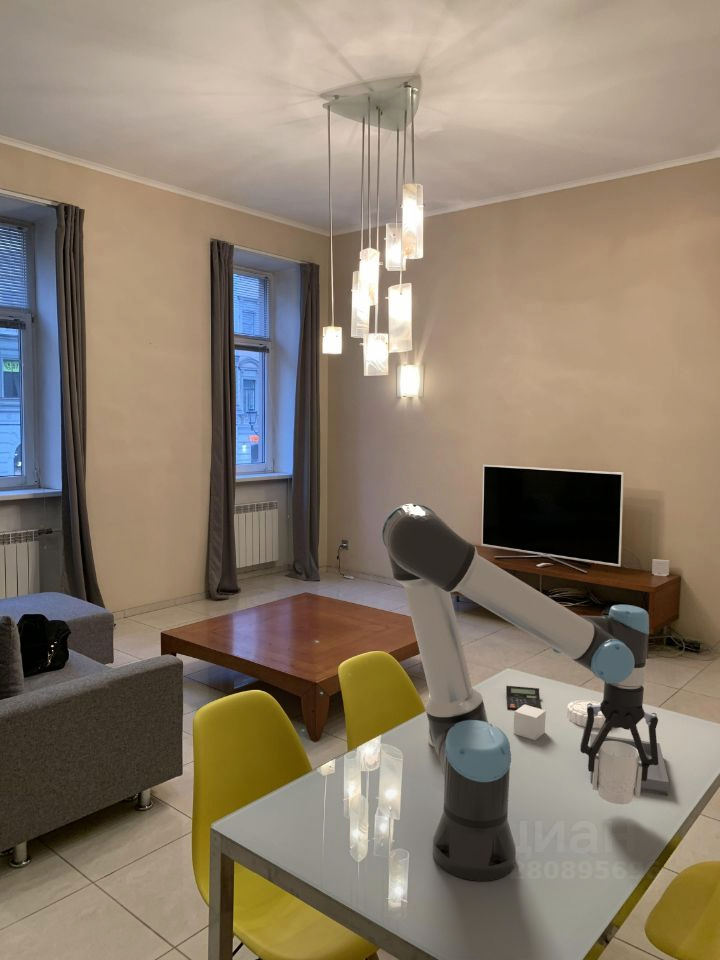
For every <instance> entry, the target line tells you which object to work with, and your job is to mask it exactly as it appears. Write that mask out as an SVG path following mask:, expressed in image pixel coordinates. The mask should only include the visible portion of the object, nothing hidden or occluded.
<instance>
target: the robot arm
mask: <svg viewBox="0 0 720 960" xmlns="http://www.w3.org/2000/svg"><path fill="white" fill-rule="evenodd" d="M382 526H383V527H382V531H381V537H382V538H381V539H382V542H383V545H384V546H385V548H386V550H387V555H388V559H389V563H390V566H391V567H390V568H391V570H392V571H391V572H392V575H393V579H394V581H395V582H397V583H398V584H400V585H402V586H403V587H404V593H405V597H406V601H407V604H408V608H409V613H410V618H411V621H412V626H413V629H414V634H415V639H416V641H417V647H418V650H419V655H420V659H421V663H422V668H423V671H424V675H425V680H426V684H427V688H428V692H429V693H428V694H430V699H429V698H428V701H427V702H426V704H425V712H426V716H427V720H428V723H429V734H430V737H431V741H432V743H433V745H434V746H433V747H434V750H435V752H436V754H437V757H438V759H439V763H440V765H441V768H442V771H443V774H444V775H443V777H444V790H443V791H444V792H443V793H444V794H443V811H442V815H441V818H440V820H439V823H438V825H437V827H436V830H435V832H434V836H433V839H432V856H433V858H434V861H435V862H436V864H437V865H438V866H439V867H440V868H441V869H443V870H444V871H445V872H447V873H449V874H451V875H452V876H456V877H458V878H461V879H465V880H469V881H478V882H488V881H494V880H498V879H501V878H503V876H504V877H505V875H506V876H507V875H509V874H510V873H511V872H512V871H513V870H512V869H514V868H515V866H516V858H517V857H516V854H517V851H516V850H517V849H516V845H515V840H514V837H513V835H512V829H511V826H510V824H509V820H508V810H509V791H510V789H509V788H510V774H511V773H510V770H511V768H510V766H511V763H512V753H511V743H510V741H509V738H508V736H507V734H506V733H505V732H504V731H503V730H502V729H501V728H499V727H498V726H493V724H492V723H489V721H488V717H487V712H486V707H485V704H484V700H483V695H482V693H481V692H480V691H478V690H476V689H474V688H473V686H472V681H471V677H470V673H469V668H468V663H467V659H466V655H465V652H464V646H463V642H462V638H461V634H460V629H459V625H458V621H457V617H456V613H455V608H454V603H453V600H452V596H451V593H455V592H458V593H460V594H461V595H463V596H464V597H466V598H468V599H469V600H471V601H473V603H476V604H478V605H479V606H481V607H483V608H485V609H486V610H488V611H490V612H491V613H493V614H495V615H497V617H500V618H502V619H503V620H505V621H507V622H508V623H510V624H512V625H513V626H515V627H517V628H519V629H520V630H522V631H524V633H527V634H528V635H531V636H532V637H534V638H536V639H537V640H539V641H541V642H542V643H544V644H546V645H547V646H548V647H550V649H551V650H552V651H553V652H554V653H557V654H563V655H564V656H566V657H567V658H569V659H571V660H572V661H574V662H576V663H577V664H578V665H580V666H581V667H583V668H585V669H587V670H589V672H592V673H593V675H594V676H595V677H596V678H598V679H601V680H602V681H603V682H604V685H603V698H602V701H601V704H600V705H592V704H591V703H589V704H587V714H588V716H587V720H586V725H585V727H584V729H583V733H582V738H581V742H580V747H579V748H580V749H579V751H580V752H581V754H586V755H587V756H588V759H587V760H588V763H587V770H588V772H590V773H591V772H593V783H591V785H592V790H593V791H597V789H598V788H597V787H598V784H597V777H598V764H599V758H598V754H597V752H598V751H599V749H600V747H601V745H602V744H603V742H604V740H605V738H606V737H607V736H609V733H610V732H611V731H612V729H613V728H615V729H624V730H628V731H629V730H630V731H629V732H630V733H631V736H632V740H634V742H635V745H636V748H637V751H638V753H639V756H640V759H641V761H639V762H638V770H637V776H636V783H635V790H634V793H635V795H634V796H635V799H636V798H638V799H639V798H640V797H641V791H640V789H641V781H646V780H647V774H648V767H649V766H650V765H658V751H657V743H658V741H657V730H656V729H657V726H658V722H659V717H658V715H657V713H655V712H651V713H649V712H647V711H645V710H644V708H643V704H644V703H643V700H644V692H645V691H644V690H645V688H644V686H643V685H645V677H646V669H647V667H646V665H647V664H646V663H647V653H648V642H649V641H648V640H649V635H650V617H649V613H648V611H647V610H645V609H644V608H641V607H639V606H636V605H630V604H614V605H612V606H611V607H610V609H609V613H608V615H603V616H599V615H578V614H577V613H575V612H573V611H572V610H570V609H568V608H567V607H565V606H563V605H562V604H560V603H559V602H557V601H555V600H553V599H552V598H550V597H549V596H547V595H545V594H544V593H542V592H540V591H539V590H537V589H536V588H534V587H532V586H530V585H529V584H527V583H526V582H524V581H522V580H520V579H519V578H517V577H516V576H514V575H512V574H510V572H508V571H506V570H505V569H503V568H500V567H499V566H497V565H496V564H495V563H493V562H491V561H490V560H487V559H486V558H485V557H482V556H481V555H479V554H478V550H477V547H476V546H475V545H474V544H472V543H471V542H468V541H467V540H466V539H464V538H463V537H461V535H459V534H458V533H456V532H455V531H454V529H452V528H451V527H450V526H449V525H448V524H447V523H446V522H445V521H444V520H443V519H442V518H441V517H439V516H438V515H437V514H436V512H434V511H433V510H432V509H431V508H430V507H428V506H425V505H424V504H419V503H418V504H417V503H408V504H403V505H400V506H398V507H397V508H394V509H393V510H392V511H391V512H390V513H389V514H388V515H387V517H386V518H385V520H384V523H383V525H382ZM600 711H601V712H602V714H603V715H604V717H605V718H606V719H605V721H604V724H603V726H602V727H601V728H599V729H600V730H599V731H598V732H597V736H596V738H595V740H594V742H593V743H592V745H591V747H590V745H589V744H590V735H591V734H592V731H593V728H592V727H593V723H594V717H596V716H597V715H598V712H600ZM642 719H644V720H645V723H646V725H647V726H648V727H647V728H648V737H649V738H648V739H649V742H650V752H651V756H647V755H646V753H645V750H644V747H643V744H642V741H643V740H642V738H641V735H640V733H639V731H638V728H637V725H638V723H640V722H641V720H642ZM514 865H515V866H514ZM513 867H514V868H513ZM511 870H512V871H511ZM509 872H510V873H509ZM508 873H509V874H508Z"/></svg>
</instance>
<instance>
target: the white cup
mask: <svg viewBox="0 0 720 960" xmlns="http://www.w3.org/2000/svg"><path fill="white" fill-rule="evenodd" d="M598 758H599V764H598V784H597V787H598V788H597V789H598V791H597V794H598V796H599V797H600V798H601V799H603V800H604V801H607V802H608V803H610V804H615V805H629V804H630V803H631V802H633V799H634V793H635V790H634V788H635V783H636V776H637V770H638V762H639V753H638V751H637V749H636V748H635V747H633V746H631V745H629V744H626V743H622V742H617V741H605V742H603V744H602V745H601V747H600V749H599V752H598Z"/></svg>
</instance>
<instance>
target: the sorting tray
mask: <svg viewBox="0 0 720 960" xmlns="http://www.w3.org/2000/svg"><path fill="white" fill-rule="evenodd" d="M597 734H598V733H597ZM597 734H596V733H591V735H590V739H589V747H591V745H592V743H593V742H594V740H595V738H596V736H597ZM605 741H617V742H622V743H626V744H629V745H631V746H633V747H635V748H636V745H635V742H634V739H633V738H625V737H619V736H612V735H611V736H610V735H607V737H606V738H605V740H604V742H605ZM641 741H642V744H643V747H644V750H645V753H646V755H647V756H651V752H650V741H646V740H641ZM636 749H637V748H636ZM657 751H658V765H650V766H649V767H648V774H647V780H646V781H641V789H640V792H643V793H651V794H656V793H657V795H662V794H664V795H663V796H668V795H669V785H670V784H669V777H668V773H667V768H666V764H665V760H664V757H663V752H662V748H661V744H660V743H658V742H657ZM598 752H599V751H598ZM598 752H597V754H598ZM639 761H641V759H640V756H639ZM592 783H593V772H590V784H592ZM597 785H599V784H598V777H597ZM634 791H635V788H634Z"/></svg>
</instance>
